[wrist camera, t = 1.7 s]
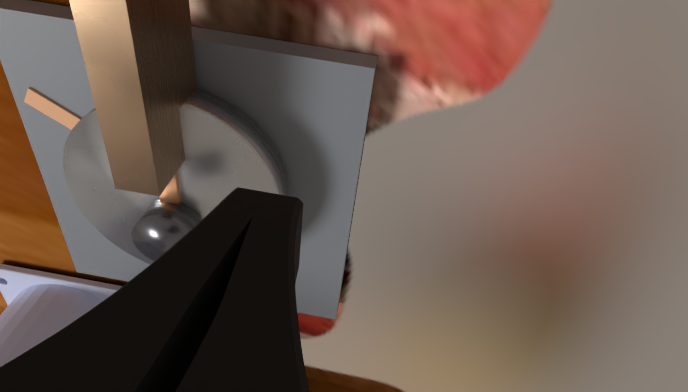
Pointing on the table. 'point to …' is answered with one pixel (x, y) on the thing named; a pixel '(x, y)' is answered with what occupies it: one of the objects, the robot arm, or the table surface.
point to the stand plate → (234, 87)
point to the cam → (156, 130)
